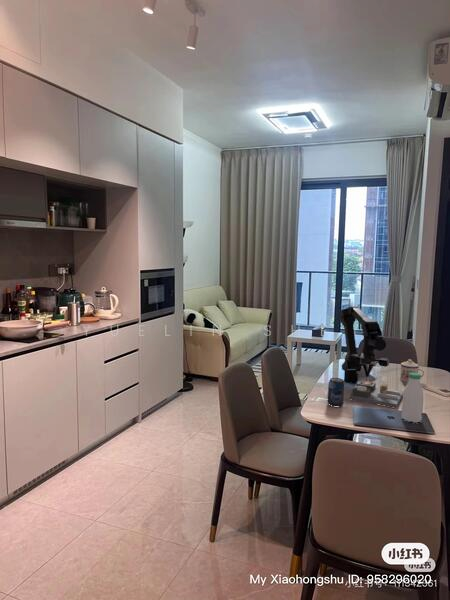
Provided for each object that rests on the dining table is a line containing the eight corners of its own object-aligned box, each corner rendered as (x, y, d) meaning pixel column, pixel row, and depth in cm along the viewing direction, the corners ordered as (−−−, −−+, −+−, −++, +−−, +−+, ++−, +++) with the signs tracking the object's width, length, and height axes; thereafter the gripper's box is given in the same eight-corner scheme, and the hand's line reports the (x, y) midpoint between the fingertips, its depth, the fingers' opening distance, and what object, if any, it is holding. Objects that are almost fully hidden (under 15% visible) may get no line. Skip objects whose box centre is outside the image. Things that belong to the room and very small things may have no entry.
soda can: (331, 408, 191) (332, 382, 190) (324, 402, 198) (326, 377, 197) (345, 407, 193) (347, 381, 191) (338, 402, 200) (340, 377, 198)
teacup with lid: (398, 381, 233) (400, 360, 232) (400, 377, 242) (401, 356, 240) (423, 385, 228) (424, 363, 227) (423, 380, 236) (425, 359, 235)
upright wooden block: (379, 394, 204) (380, 385, 203) (381, 392, 208) (382, 383, 208) (385, 395, 203) (385, 386, 202) (387, 392, 207) (387, 384, 206)
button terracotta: (361, 388, 214) (361, 383, 213) (362, 386, 218) (363, 381, 217) (370, 390, 212) (370, 385, 211) (371, 387, 215) (372, 382, 215)
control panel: (349, 399, 203) (349, 390, 203) (358, 388, 220) (359, 379, 220) (396, 408, 193) (397, 398, 192) (402, 395, 210) (403, 386, 210)
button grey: (355, 392, 204) (356, 387, 204) (358, 390, 208) (358, 385, 208) (365, 394, 202) (365, 389, 202) (367, 391, 206) (367, 386, 205)
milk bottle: (420, 425, 174) (423, 377, 172) (399, 421, 178) (403, 374, 176) (422, 419, 181) (426, 373, 179) (403, 415, 185) (406, 370, 183)
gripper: (345, 346, 210) (344, 377, 211) (386, 351, 200) (384, 384, 202) (351, 342, 219) (350, 372, 221) (390, 347, 210) (388, 378, 212)
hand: (367, 376), depth 214 cm, fingers closed
